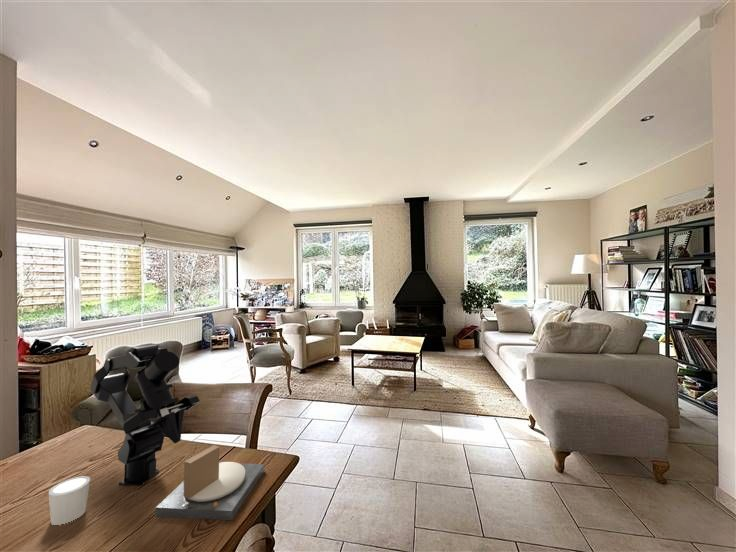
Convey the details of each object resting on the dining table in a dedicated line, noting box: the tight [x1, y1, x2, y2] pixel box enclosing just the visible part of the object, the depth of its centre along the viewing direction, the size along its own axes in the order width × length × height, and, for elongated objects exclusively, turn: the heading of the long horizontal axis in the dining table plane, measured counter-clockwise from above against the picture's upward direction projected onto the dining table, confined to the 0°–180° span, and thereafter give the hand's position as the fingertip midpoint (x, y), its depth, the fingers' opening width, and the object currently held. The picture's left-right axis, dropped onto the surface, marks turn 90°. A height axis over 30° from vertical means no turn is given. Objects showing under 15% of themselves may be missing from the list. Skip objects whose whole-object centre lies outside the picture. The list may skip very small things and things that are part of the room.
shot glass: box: [48, 475, 91, 526], centre depth 69 cm, size 7×7×7 cm
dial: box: [183, 444, 245, 502], centre depth 77 cm, size 15×14×9 cm
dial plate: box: [154, 462, 265, 521], centre depth 77 cm, size 18×18×2 cm
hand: (177, 442), depth 77 cm, fingers closed
